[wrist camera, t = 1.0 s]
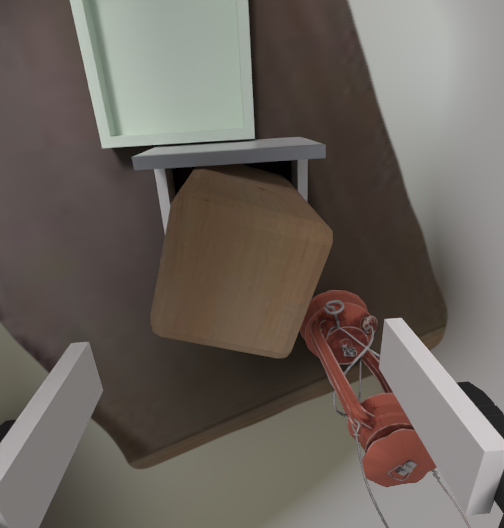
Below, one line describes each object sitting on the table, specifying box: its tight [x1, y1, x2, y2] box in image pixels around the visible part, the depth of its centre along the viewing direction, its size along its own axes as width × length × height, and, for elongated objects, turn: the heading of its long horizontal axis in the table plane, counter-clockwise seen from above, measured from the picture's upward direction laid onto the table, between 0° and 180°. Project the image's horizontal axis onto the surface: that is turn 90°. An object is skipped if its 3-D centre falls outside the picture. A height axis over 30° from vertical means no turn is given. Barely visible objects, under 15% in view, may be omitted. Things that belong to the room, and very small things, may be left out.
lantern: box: [300, 290, 471, 528], centre depth 32 cm, size 10×10×30 cm
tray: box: [70, 0, 255, 148], centre depth 32 cm, size 15×15×2 cm
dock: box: [132, 137, 326, 233], centre depth 34 cm, size 14×15×11 cm
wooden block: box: [150, 164, 333, 358], centre depth 30 cm, size 10×10×20 cm
